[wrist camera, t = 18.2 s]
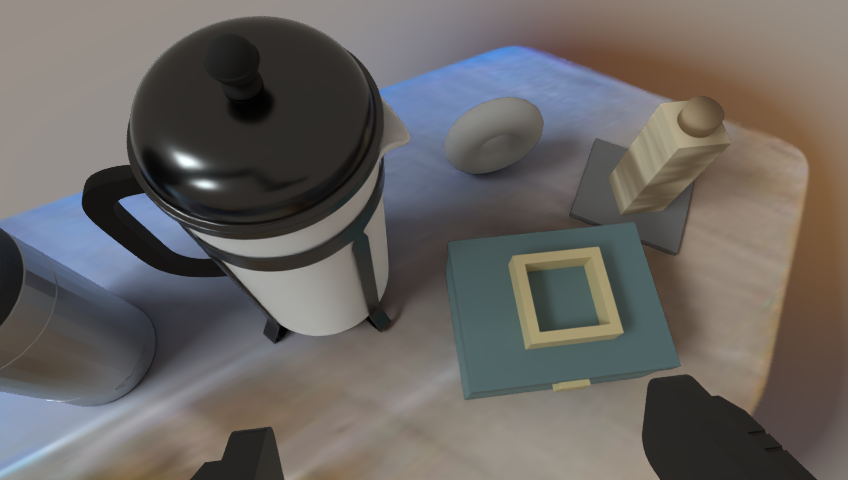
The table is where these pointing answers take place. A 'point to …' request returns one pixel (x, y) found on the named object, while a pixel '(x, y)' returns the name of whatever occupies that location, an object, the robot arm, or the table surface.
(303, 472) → the table surface
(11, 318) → the robot arm
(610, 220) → the rubber mat
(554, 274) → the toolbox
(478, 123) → the donut
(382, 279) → the coffee press
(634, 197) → the wooden block
